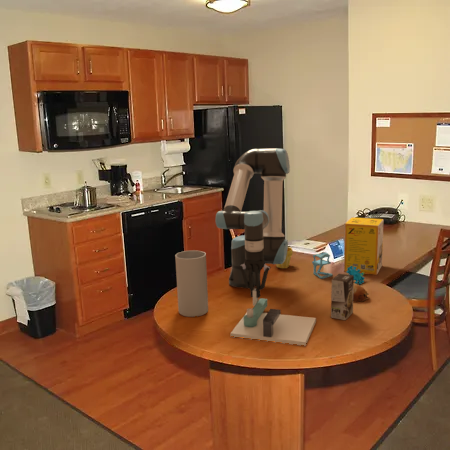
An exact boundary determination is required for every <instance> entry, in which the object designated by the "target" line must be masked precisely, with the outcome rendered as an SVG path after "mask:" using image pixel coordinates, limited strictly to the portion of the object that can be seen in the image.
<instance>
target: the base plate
mask: <svg viewBox="0 0 450 450" xmlns="http://www.w3.org/2000/svg"><path fill="white" fill-rule="evenodd" d="M267 313H268V312H263V313H262V314H261V316H260V317H259V318H258V320H257V325H256V326H254V327H247V326H244V316H245V315H247V312H246V313H245V314H244V315H243V317H242V318H241V319H240V320H239V322H237V323H236V325H235V327H234V328H233V329H232V331H231V332H230V337H231V336H234V337H233V338H235V337H244V338H251V339H250V340H252V339H260V340H267V341H266V342H268V341H275V342H274V343H276V342H282V343H281V344H285V343H289V344H288V345H293V344H297V345H296V346H301V345H304V346H303V347H306V346H307V344H308V342H309V338H310V337H311V334H312V332H313V330H314V327H315V325H316V322H317V317H310V316H309V317H308V316H300V315H299V316H298V315H290V314H280V315H279V317H278V319H277V320H276V322H275V323H274V325H273V336H272V337H263V319H264V317H265V316H266V315H267ZM260 340H259V341H260ZM306 343H307V344H306Z"/></svg>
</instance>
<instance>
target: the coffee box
mask: <svg viewBox="0 0 450 450" xmlns="http://www.w3.org/2000/svg"><path fill="white" fill-rule="evenodd" d="M353 284H355V280H354V275H349V274H348V273H346V274H345V273H338V274H337V275H336V276H334V277H333V278H331V292H330V293H331V294H330V298H331V299H330V300H331V302H330V303H331V304H330V307H331V308H330V318H333V319H336V320H342V321H346V320H348V318H349V317H350V316H352V314H353V312H354V301H353Z"/></svg>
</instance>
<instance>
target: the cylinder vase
mask: <svg viewBox="0 0 450 450" xmlns="http://www.w3.org/2000/svg"><path fill="white" fill-rule="evenodd" d="M206 254H207V253H206V252H205V251H201V250H184V251H183V250H182V251H181V252H177V253H176V254H175V255H174V257H175V272H176V273H175V275H176V276H175V277H176V288H177V290H176V291H177V307H178V308H177V309H178V314H180V315H181V316H183V317H189V318H195V316H197V317H201V316H204V315H205V314H206V313H208V312H209V296H208V271H207V270H208V269H207V255H206Z"/></svg>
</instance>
